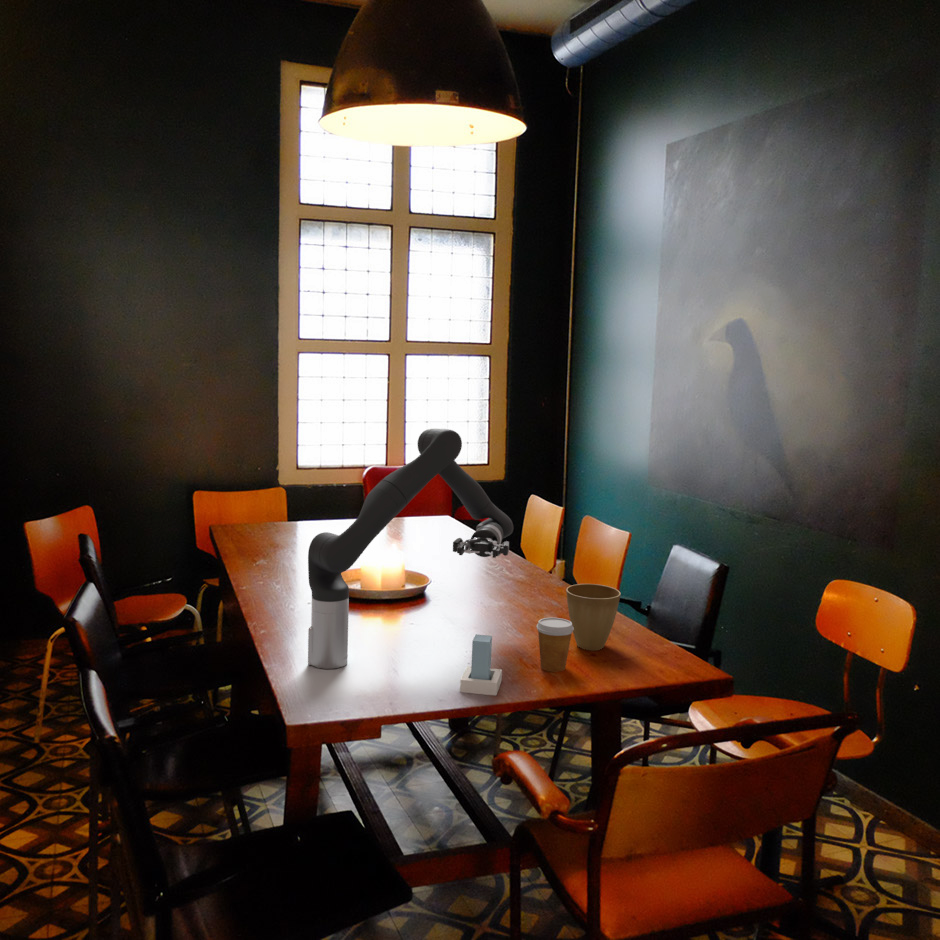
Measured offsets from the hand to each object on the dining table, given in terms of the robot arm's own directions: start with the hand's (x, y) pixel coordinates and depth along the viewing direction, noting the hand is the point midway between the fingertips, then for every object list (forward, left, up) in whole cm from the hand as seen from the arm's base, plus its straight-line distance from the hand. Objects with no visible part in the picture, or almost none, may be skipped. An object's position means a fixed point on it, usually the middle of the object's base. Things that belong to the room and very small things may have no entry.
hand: (477, 552), depth 218 cm
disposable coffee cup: (+20, +6, -30) cm, 37 cm away
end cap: (+4, -12, -30) cm, 33 cm away
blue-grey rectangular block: (+4, -12, -30) cm, 33 cm away
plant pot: (+29, +26, -30) cm, 49 cm away
